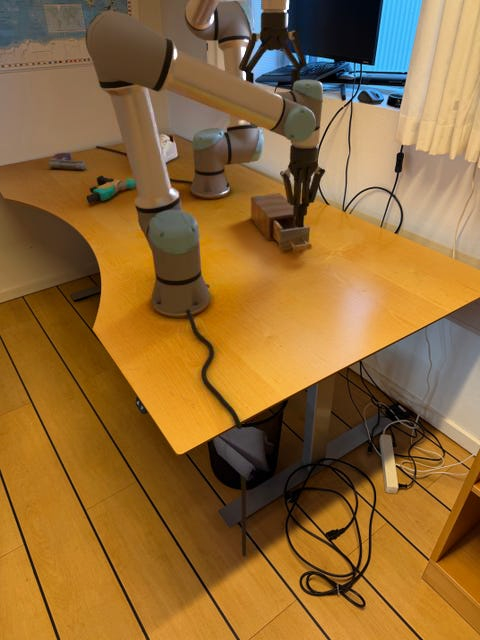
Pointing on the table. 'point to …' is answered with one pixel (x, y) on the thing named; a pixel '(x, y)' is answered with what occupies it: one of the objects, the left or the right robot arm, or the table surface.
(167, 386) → the table surface
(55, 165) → the toy gun
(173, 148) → the sneaker
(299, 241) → the drawer
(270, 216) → the cabinet
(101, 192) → the toy gun
